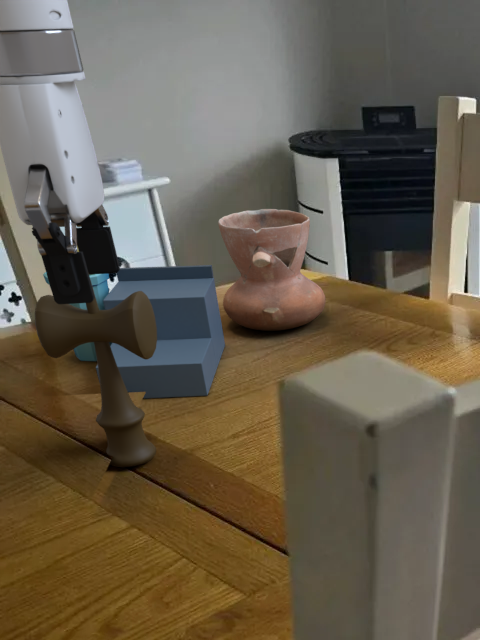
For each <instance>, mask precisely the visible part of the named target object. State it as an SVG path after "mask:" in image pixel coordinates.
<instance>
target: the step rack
mask: <svg viewBox="0 0 480 640" xmlns="http://www.w3.org/2000/svg"><path fill="white" fill-rule="evenodd" d="M115 274H116V278H117V283H116V284H115V285H114V286H113V287H112V289H111V290H109V294H108V295H107V296H106V297H105V299H104V300H103V303H104V307H105V310H108V309H112V308H114V307H115V306H117V305H118V304H119V303H121V302H122V301H123V300H124V299H126V298H127V297H128V296H130V295H131V294H133V293H135V292H137V291H142V292H144V293H145V294H146V295H147V297H148V299H149V301H150V303H151V305H152V308H153V312H154V315H155V321H156V327H157V344H156V349H155V352H154V354H153V356H152V357H151V358H149V359H143V358H141V357H139V356H137V355H135V354H134V353H132V352H130V351H129V350H127V349H125V348H124V347H122V346H120V345H118V344H115V343H112V344H111V346H110V347H111V350H112V353H113V356H114V358H115V361H116V364H117V367H118V369H119V372H120V374H121V377H122V379H123V382H124V384H125V387H126V389H127V391H128V394H129V393H144V395H143V397H142V400H143V399H163V398H164V399H165V398H166V399H167V398H183V397H184V398H188V397H208V396H209V395H208V394H209V393H210V389H211V387H212V384H213V380H214V378H215V375H216V373H217V369H218V367H219V364H220V361H221V358H222V355H223V354H224V353H223V352H224V349H225V347H226V342H225V336H224V335H225V334H224V329H223V324H222V318H221V311H220V306H219V300H218V295H217V287H216V282H215V278H214V270H213V265H212V264H200V265H197V264H196V265H171V266H170V265H169V266H167V265H165V266H140V267H139V266H138V267H120V270H119V271H118V272H117V273H115ZM95 371H96V374H97V378H98V382H99V383H100V379H99V371H98V364H96V366H95Z"/></svg>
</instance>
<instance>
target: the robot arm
mask: <svg viewBox="0 0 480 640" xmlns="http://www.w3.org/2000/svg"><path fill="white" fill-rule="evenodd" d="M68 2H69V1H68V0H0V150H1V154H2V159H3V163H4V166H5V171H6V175H7V179H8V182H9V185H10V190H11V193H12V197H13V201H14V205H15V208H16V213H17V216H18V218H19V219H20V221H21V222H22V223H24V224H25V225H27V226H32V228H31V233H32V235H33V237H34V238H35V239H36V245H37V250H38V253H39V255H40V256H41V260H42V263H43V267H44V270H45V272H46V273H47V277H48V280H49V284H50V285H49V284H48V285H49V288H50V287H51V288H50V291H51V293H52V296H53V297H54V300H55V302H56V303H57V304H76V303H91V302H92V301H93V300H94V298H95V296H94V292H93V289H92V285H91V281H90V277H89V274H109V275H110V274H116V273H117V272H118V271H119V270H120V268H121V267H120V263H119V259H118V254H117V250H116V245H115V242H114V238H113V233H112V230H111V226H110V225H109V224H110V221H109V215H108V213H107V211H106V209H105V207H104V205H103V203H104V202H105V190H104V184H103V183H104V182H103V179H102V174H101V170H100V165H99V160H98V157H97V153H96V149H95V146H94V145H95V144H94V142H93V137H92V134H91V131H90V127H89V123H88V119H87V116H86V113H85V110H84V104H83V102H82V100H81V96H80V93H79V90H78V86H77V83H76V81H77V82H80V81H84V80H87V78H86V75H85V71H84V66H83V65H84V64H83V61H82V57H81V52H80V49H79V44H78V39H77V35H76V32H75V27H74V24H73V23H74V22H73V20H72V14H71V10H70V6H69V3H68ZM63 227H64V232H63V231H62V229H61V228H63ZM77 246H78V250H79V252H77ZM88 273H89V274H88Z"/></svg>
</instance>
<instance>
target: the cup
mask: <svg viewBox="0 0 480 640" xmlns="http://www.w3.org/2000/svg"><path fill="white" fill-rule="evenodd" d="M77 252H79V250H78V246H77ZM109 275H110V274H89V276H90V280H91V283H92V287H93V290H94V294H95V297H96V301H97V304H98V308H99V310H105V307H104V303H103V300H104V299H105V297H106V296H107V295H108V294H109V293H110V289H109V281H108V280H109V279H110V276H109ZM42 276H43V278H44V281H45V283H46V284H47V285H49V288H50V289H51V287H50V284H49V280H48V277H47V273H46V271H45V272H43V274H42ZM70 305H72V306H74V307H77V308H80V309H85V310H87V307H86V303H76V304H70ZM109 344H110V346H111V344H112V343H111V342H109ZM72 351H73V352H74V355H75V358H77V359H78V360H79V361H81V362H97V357H96V351H95V346H94V342H90V343H84V344H81V345H79V346H77V347H76V348H74V349H73V350H72Z"/></svg>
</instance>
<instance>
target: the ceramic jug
mask: <svg viewBox="0 0 480 640" xmlns="http://www.w3.org/2000/svg"><path fill="white" fill-rule="evenodd" d="M310 222H311V219H310V216H308V215H306V214H304V213H302V212H297V211H293V210H289V209H276V208H261V209H256V210H255V209H254V210H243V211H239V212H234V213H231V214H228V215H223V216H222V217H221V218H219V220H218V222H217V225H218V229H219V232H220V235H221V239H222V240H223V243H224V245H225V248H226V249H227V252H228V254H229V255H230V258H231V260H232V262H233V263H234V265H235V267H236V268H237V270H238V272H239V274H240V276H239V278H238V279H237V280H236V281H235V282H234V283H233V284H232V285H230V286H229V288H228V289H227V290H226V291H225V294H224V295H223V300H222V306H223V307H222V308H223V310H224V312H225V314H226V315H227V317H228V318H230V320H232V321H233V322H234V323H236V324H237V325H239V326H241V327H243V328H246V329H250V330H256V331H266V332H275V331H276V332H277V331H285V330H291V329H294V328H295V329H296V328H298V327H301V326H304V325H307V324H309V323H310V322H312V321H314V320H315V319H316V318H318V317H319V316H320V315H321V314H322V313H323V311H324V309H325V307H326V295H325V293H324V290H323V289H322V287H321V286H319V285H318V284H317V282H314V280H311V279H310V278H308V277H307V276H305V275H304V274H303V273H302V272H301V269H302V266H303V262H304V259H305V256H306V252H307V251H306V250H307V246H308V241H309V236H310V225H311V223H310Z"/></svg>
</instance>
